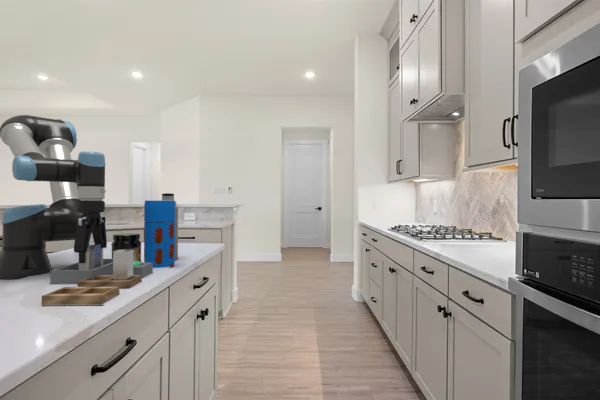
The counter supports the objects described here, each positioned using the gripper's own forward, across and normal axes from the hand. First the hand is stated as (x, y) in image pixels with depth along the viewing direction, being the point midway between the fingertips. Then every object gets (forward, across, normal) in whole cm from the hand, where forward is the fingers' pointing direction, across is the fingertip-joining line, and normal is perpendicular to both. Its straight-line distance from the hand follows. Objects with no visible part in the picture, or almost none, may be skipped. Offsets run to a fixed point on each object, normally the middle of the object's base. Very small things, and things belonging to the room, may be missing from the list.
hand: (91, 270), depth 118 cm
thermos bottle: (+3, +36, -13) cm, 38 cm away
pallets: (+2, -20, -12) cm, 23 cm away
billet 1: (+2, 0, 0) cm, 2 cm away
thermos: (+3, +20, -15) cm, 25 cm away
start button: (0, +1, -13) cm, 13 cm away
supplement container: (+3, +24, -1) cm, 24 cm away
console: (+2, +1, -13) cm, 13 cm away
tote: (+2, 0, 0) cm, 2 cm away
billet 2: (+2, -12, -16) cm, 20 cm away
